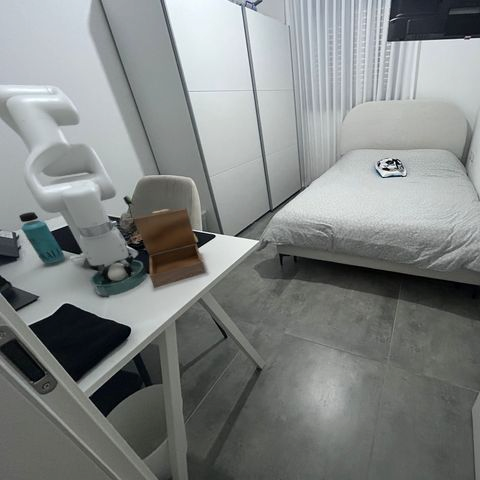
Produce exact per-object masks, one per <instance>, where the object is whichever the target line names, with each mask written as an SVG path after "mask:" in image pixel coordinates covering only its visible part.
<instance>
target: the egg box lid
mask: <svg viewBox="0 0 480 480" xmlns="http://www.w3.org/2000/svg"><path fill="white" fill-rule="evenodd" d="M151 213H152V214H149V215H143V216H138V217H135V218H133V220H134V223H135V225H136V227H137V229H138V230H137V233H138V234H140V236H141V238H142V240H143V241H142V242H143V245H144V247H145V249H146V252H147V253H148V256H149V255H152V254H157V253H161V252H165V251H169V250H173V249H177V248H181V247H185V246H187V245H188V246H189V245H193V244H197V243H196V241H195V237H194V234H195V233H194V229H193V227H192V224H191V219H190V217H189V212H188V208H187V207H185V208H179V209H175V210H170V208H165V209H159V210H154V211H151ZM193 233H194V234H193Z"/></svg>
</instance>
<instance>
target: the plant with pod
mask: <svg viewBox="0 0 480 480" xmlns="http://www.w3.org/2000/svg"><path fill="white" fill-rule="evenodd" d="M122 200H124V203H125V204H126V205H127V207H128V208H129V213H128V212H127V210H126V211H125V212H122V214H121V215H120V217H119V226H120V228H121V229H122V230H123V231H125V232H124V235H126V234H127V232H128V233H131V234H132V236H130V237H129V239H127V240H128V241H127V240H125V241H126V243H127V244H135V245H137V244H138V245H139V244H140V243H141V242H137V241H140V240H142V238H141V236H140V234H139V233H138V229H137V227H136V225H135V223H134V220H133V218H136V217H135V216H134V214H132V210H131V205H132V206H135V204H134V203H133V199H131V198H130V196H128V195H125V196H124V197H123V199H122Z"/></svg>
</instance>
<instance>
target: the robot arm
mask: <svg viewBox="0 0 480 480" xmlns="http://www.w3.org/2000/svg"><path fill="white" fill-rule="evenodd" d="M0 119H1V120H2V122H3V123H4V124H6V125H7V127H9V128H10V129H11V130H12V131H13V132H15V133H16V134H17V136H19V137H20V139H21V140H22V142H23V144H24V145H25V147H26V148H27V150H28V152H29V155H28V157H27V158H26V160H25V162H24V164H23V172H22V173H23V174H22V175H23V179H24V181H25V184H26V186H27V188H28V190H29V191H30V193H31V195H32V196H33V199H34V200H35V202H36V203H37V205H38V206H39V207H40V209H41V210H43V211H44V212H46V213H48V214H49V213H50V214H57V213H60V214H61V216H62V217H63V219H64V221H65V223H66V225H67V226H68V228H69V230H70V232H71V233H72V235H73V237H74V239H75V240H76V242H77V245H78V246H79V248H80V251H81V253H80V254H75V255H70V256H69V259H70V261H71V262H73V263H74V264H76V263H80V262H82V266H81V267H82V268H83V269H88V270H91V271H95V272H99V273H102V275H103V277H104V279H105V280H107V281H108V283H110V282H111V281H112V282H113V280H111V279H110V278H109V277H108V268H106V266H108V265H111V264H114V263H117V262H122V263H123V264H124V269H125V271H126V273H127V274H126V276H127V278H130V277H131V276H132V274H133V273H134V272H133V270H132V268H131V265H130V263H131V262H132V261H133V260H135V258H136V257H137V256H138V255H139V251H138V250H136V249H134V248H132V247H130V246H129V245H128V243H126V241H127V240H125V238H124V236H123V234H122V233H121V231H120V230H119V229H118V227H117V226H118V221H117V220H111V218H110V217H109V215H108V213H107V211H106V209H105V207H104V205H103V202H102V201H106V200H111V199H113V198H115V197H116V195H117V189H116V186H115V184H114V182H113V180H112V178H111V177H110V175H109V173H108V171H107V170H106V168H105V165H104V164H103V161H102V160H101V158H100V156H99V155H98V153H97V152H96V151H95V149H94V148H93V147H92V146H91V145H89V144H86V143H69V142H68V140H67V138H66V136H65V134H64V133H63V131H62V129H61V128H60V127H67V126H77V125H79V124H80V122H81V118H80V114H79V111H78V110H77V107H76V106H75V103H73V101H72V100H71V99H70V98H69V97H68V95H67V94H65V92H64V91H62V89H60V88H59V87H57V86H55V85H49V84H45V85H44V84H0ZM41 172H42V173H43V174H44V175H45V176H47V177H52V178H57V179H54V180H51V181H49V182H47V184H45V186H43V184H42V183H41V180H40V174H41ZM85 173H86V174H85ZM78 174H80V175H78ZM59 177H61V178H59ZM62 177H63V178H62Z"/></svg>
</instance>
